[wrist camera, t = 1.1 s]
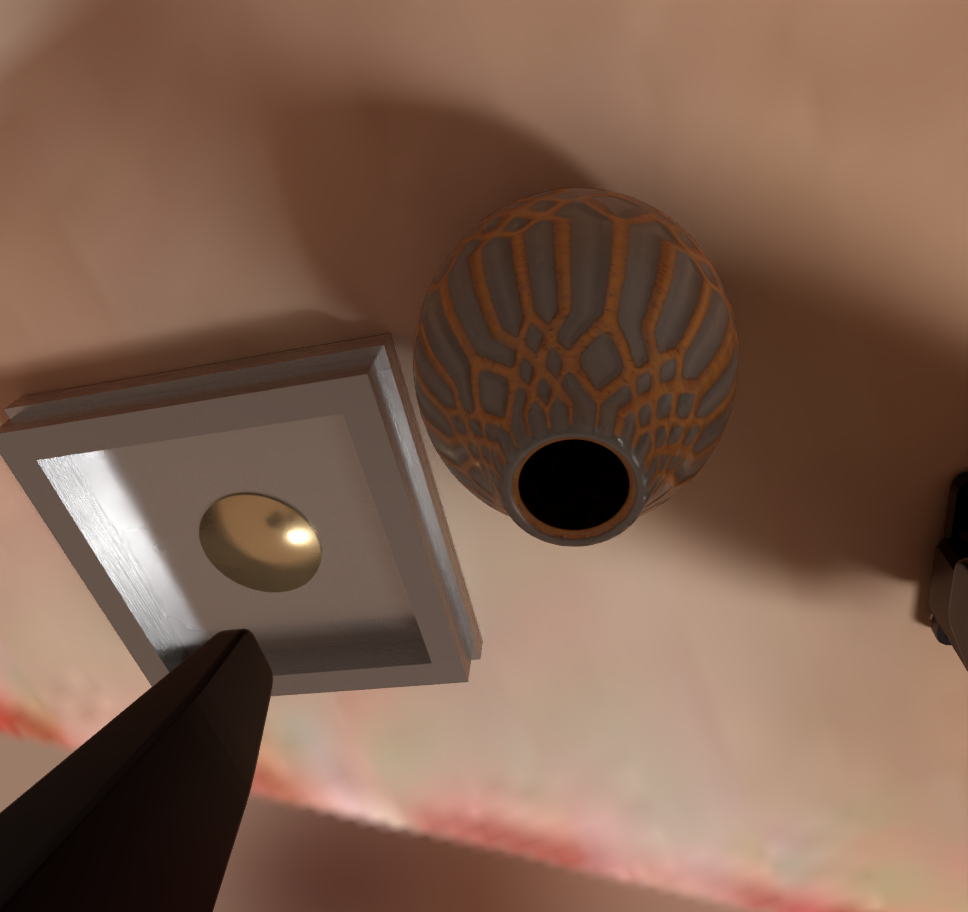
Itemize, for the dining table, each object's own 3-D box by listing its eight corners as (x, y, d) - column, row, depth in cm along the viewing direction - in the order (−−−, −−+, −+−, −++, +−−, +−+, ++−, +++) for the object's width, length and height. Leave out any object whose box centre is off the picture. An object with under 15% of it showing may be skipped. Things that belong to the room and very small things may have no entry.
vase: (393, 237, 18) (278, 391, 11) (652, 108, 16) (723, 192, 9) (508, 448, 22) (478, 680, 14) (739, 363, 19) (846, 583, 12)
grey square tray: (390, 333, 20) (373, 363, 18) (482, 642, 26) (476, 686, 24) (21, 396, 22) (-24, 429, 20) (184, 666, 28) (160, 708, 26)
